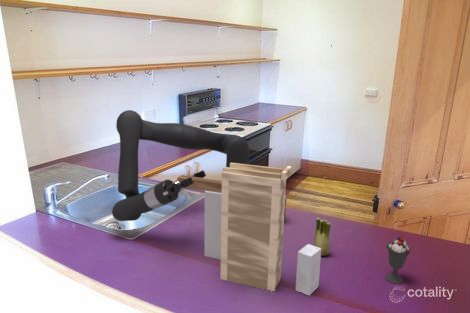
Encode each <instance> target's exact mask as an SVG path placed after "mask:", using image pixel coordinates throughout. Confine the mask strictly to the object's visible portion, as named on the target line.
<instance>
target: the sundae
mask: <svg viewBox="0 0 470 313" xmlns="http://www.w3.org/2000/svg"><path fill="white" fill-rule="evenodd" d="M385 248H386V249H387V250H388V263H389V266H390V267H391V268H392V269H393V270H392V273H387V274H386V275H385V276H384V278H385V280H386V281H388V282H390V283H391V284H394V285H395V284H397V285H401V284H403V283H404V279H403V278H402V276H400V275H398V271H399V270H400V269H402V268H404V267H405V264H406V260H407V258H408V255H409V254H411V253H412V249H411V248H410V247H409V245H407V241H406V240H405V239H404V234H402V235H401V236H398V237H397V238H395V239H394V241H392V242H388V243H386V245H385Z"/></svg>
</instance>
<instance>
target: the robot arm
mask: <svg viewBox="0 0 470 313" xmlns="http://www.w3.org/2000/svg"><path fill="white" fill-rule="evenodd" d="M115 123H116V124H115V125H116V126H115V127H116V128H115V129H116V131H117V133H118V134H119V135H118V136H119V147H120V148H119V152H120V153H119V162H118V174H117V175H118V176H117V191H118V193H119V194H121V195H123V196H125V198H123V199H120V200H118V201H116V203H115V204H114V205H113V207H112V210H111V214H112V217H113V218H114V219H115V221H118V222H128V221H129V222H131V221H133V222H134V221H137V220H138V219H140V217H141V216H142V214H146V213H149V212H151V211H153V210H156V209H159V208H162V207H164V206H166V205H168V204H171V203H173V202H176V201H177V200H178V198H179V194H180V193H181V192H183V191H184V190H185V189H186V188H185V187H187V186H189V185H192V184H193V183H194V182H193V180H192V178H191V177H189V178H187V179H185V180H183V181H181V182H178V181H177V180H175V181H173V180H171V179H165V180H162V181H161V182H158V183H157V184H155V185H152V186H151V187H149V188H148V189H146V190H144V191H143V192H141V193H140V191H139V146H140V145H139V144H140V143H139V142H140V141H141V140H143V141H150V142H155V143H159V144H162V145H165V146H166V145H167V146H172V147H175V148H180V149H185V150H191V151H193V150H194V151H197V150H198V151H200V150H208V151H209V150H210V151H214V152H218V153H221V154H225V155H226V160H225V162H226V163H225V167H229V168H230V163H239V164H248V165H249V160H250V159H249V158H250V146H249V143H248V141H247V140H246V139H245V138H243V137H242V136H240V135H237V134H230V133H219V132H214V131H210V130H207V129H204V128H201V127H196V126H193V125H188V124H184V123H177V122H173V123H172V122H163V123H162V122H152V121H149V120H146V119H145V120H144V119H143V118H142V116H141V115H140V114H139V113H138V112H137V111H134V110H132V109H127V110H124V111H123V112H121V113H120V114H119V115H118V117H117V119H116V122H115ZM190 176H192V177H199V178H206V176H207V174H206V172H205V170H201V171H198V172H194V173H192V175H190Z"/></svg>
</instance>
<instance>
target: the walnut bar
mask: <svg viewBox="0 0 470 313" xmlns="http://www.w3.org/2000/svg"><path fill="white" fill-rule="evenodd" d="M189 177H191V178H192V180H193V182H194V183H193V184H192V185H189V186H187V187H185V189H193V190H200V191H204V192H205V191H211V192H218V193H222V179H220V180H219V179H214V178H207V177H203V178H199V177H192V176H191V175H185V174H181V175H179V176H178V177H177V178H176V181H178V182H181V181H183V180H185V179H187V178H189Z"/></svg>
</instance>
